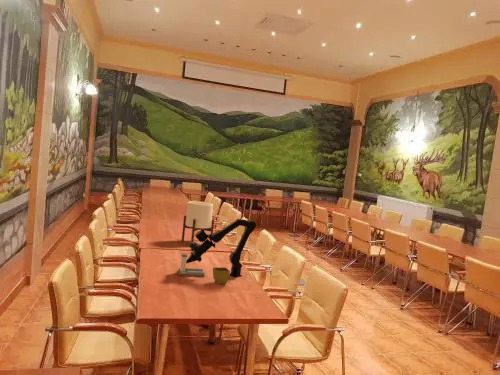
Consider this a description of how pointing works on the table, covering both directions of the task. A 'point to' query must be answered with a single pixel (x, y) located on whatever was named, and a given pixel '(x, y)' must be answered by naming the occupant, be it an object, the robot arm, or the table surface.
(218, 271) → the flower pot
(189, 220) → the plant pot with stand
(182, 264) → the fader knob
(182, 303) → the table surface
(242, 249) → the robot arm
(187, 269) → the grey railed base plate
